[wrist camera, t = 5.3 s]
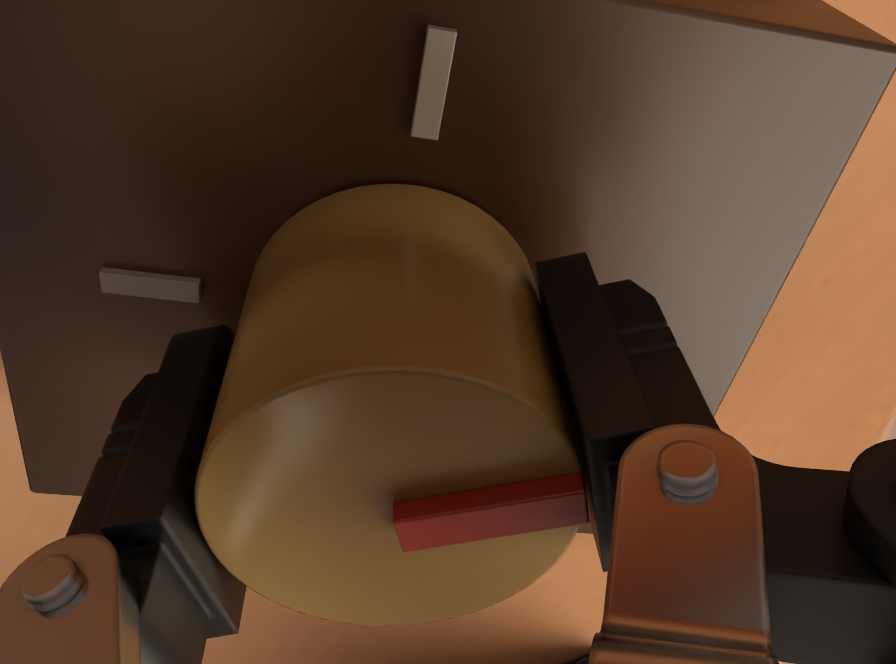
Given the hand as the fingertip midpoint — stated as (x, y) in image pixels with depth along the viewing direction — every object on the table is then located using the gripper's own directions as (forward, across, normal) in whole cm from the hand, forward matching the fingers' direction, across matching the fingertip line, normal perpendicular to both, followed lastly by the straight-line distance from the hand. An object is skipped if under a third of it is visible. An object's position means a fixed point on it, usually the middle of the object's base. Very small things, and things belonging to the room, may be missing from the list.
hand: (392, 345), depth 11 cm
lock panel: (+4, 0, 0) cm, 4 cm away
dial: (+1, 0, 0) cm, 1 cm away
